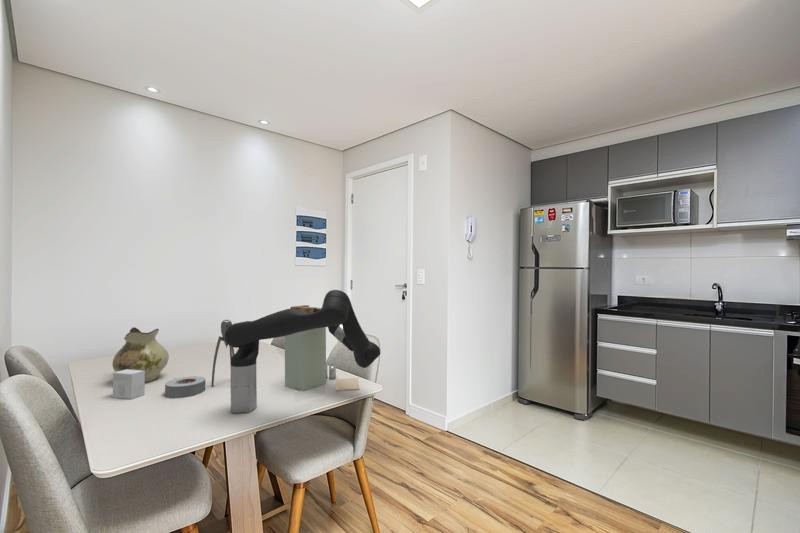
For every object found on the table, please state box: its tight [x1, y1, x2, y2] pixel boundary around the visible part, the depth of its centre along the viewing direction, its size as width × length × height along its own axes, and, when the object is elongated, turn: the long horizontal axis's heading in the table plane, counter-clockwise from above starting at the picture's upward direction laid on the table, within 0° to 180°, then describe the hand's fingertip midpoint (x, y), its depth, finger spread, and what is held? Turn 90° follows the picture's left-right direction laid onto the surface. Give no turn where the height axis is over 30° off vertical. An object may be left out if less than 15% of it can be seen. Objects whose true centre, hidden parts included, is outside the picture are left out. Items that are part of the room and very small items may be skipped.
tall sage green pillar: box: [284, 327, 327, 392], centre depth 174 cm, size 13×15×32 cm
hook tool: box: [290, 304, 322, 314], centre depth 173 cm, size 26×8×4 cm, turn 54°
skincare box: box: [112, 369, 146, 400], centre depth 160 cm, size 10×6×10 cm, turn 74°
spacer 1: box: [326, 364, 329, 380], centre depth 184 cm, size 3×3×6 cm
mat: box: [335, 377, 360, 392], centre depth 173 cm, size 16×10×1 cm, turn 9°
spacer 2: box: [328, 365, 337, 381], centre depth 183 cm, size 3×3×6 cm
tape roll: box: [164, 375, 206, 399], centre depth 165 cm, size 15×15×5 cm
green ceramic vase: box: [112, 327, 170, 383], centre depth 183 cm, size 22×24×25 cm
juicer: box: [211, 319, 235, 388], centre depth 174 cm, size 10×11×30 cm
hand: (318, 309), depth 169 cm, fingers closed on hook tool, 4 cm apart
